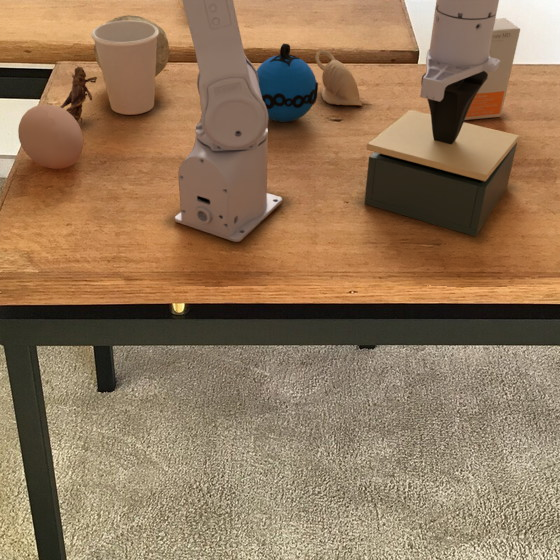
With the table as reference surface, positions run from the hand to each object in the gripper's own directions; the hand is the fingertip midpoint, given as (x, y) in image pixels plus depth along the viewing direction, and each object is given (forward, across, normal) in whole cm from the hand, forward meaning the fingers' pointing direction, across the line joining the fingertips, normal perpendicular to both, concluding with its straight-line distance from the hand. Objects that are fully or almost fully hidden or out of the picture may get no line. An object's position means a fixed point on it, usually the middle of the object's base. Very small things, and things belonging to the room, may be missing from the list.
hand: (444, 139), depth 81 cm
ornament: (+7, +9, +24) cm, 27 cm away
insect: (+5, -4, +46) cm, 47 cm away
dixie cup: (+7, +2, +43) cm, 44 cm away
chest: (+7, +1, 0) cm, 7 cm away
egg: (+4, -13, +46) cm, 48 cm away
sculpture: (+7, +9, +47) cm, 49 cm away
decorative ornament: (+7, +19, +21) cm, 29 cm away
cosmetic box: (+7, +24, +3) cm, 25 cm away
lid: (+1, 0, 0) cm, 1 cm away
